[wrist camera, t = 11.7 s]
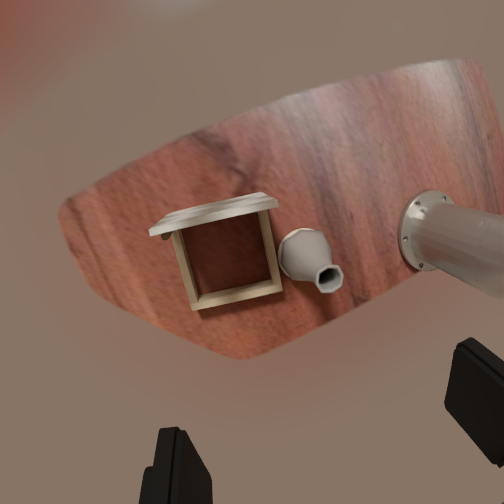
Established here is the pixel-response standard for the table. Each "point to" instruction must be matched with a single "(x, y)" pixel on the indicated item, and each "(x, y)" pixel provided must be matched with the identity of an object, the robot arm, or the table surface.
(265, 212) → the open-lid wooden box
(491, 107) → the table surface
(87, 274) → the table surface
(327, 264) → the flask
